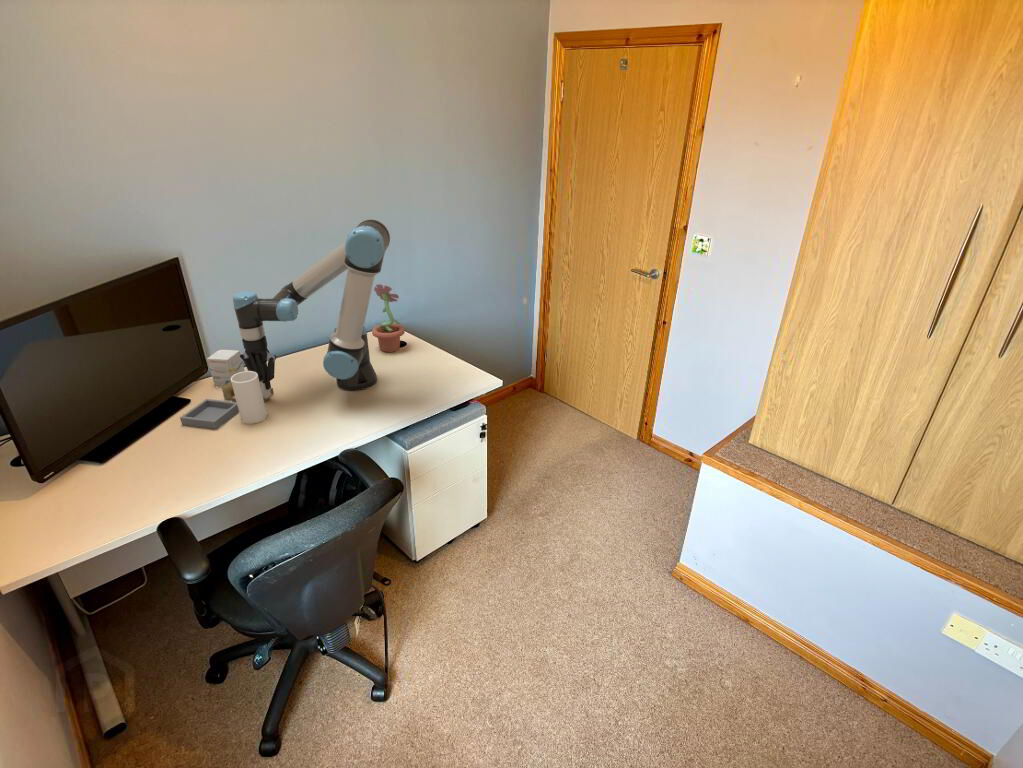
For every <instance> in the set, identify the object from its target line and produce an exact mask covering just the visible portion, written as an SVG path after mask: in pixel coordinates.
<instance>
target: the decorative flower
mask: <svg viewBox="0 0 1023 768" xmlns="http://www.w3.org/2000/svg"><path fill="white" fill-rule="evenodd" d="M373 290H374V292H375V294H376V296H378V297H379V299H381V300H382V301H384V307H383V308H382V313H385V312H386V314H387V316H388V318H389V320H388V321H385V322H381V323H377V322H376V324H378V325H376V326H374V327H373V328H372V331H371V334H372V336H373V337H375V338H376V339H377V340H378V342H377V343H378V347H379V349H380V351H382V352H385V353H393V352H396V351H398V350H399V349H400V346H401V337H403V336H404V334H405V328H404V326H402V325H401V323H400V322H399V321H398V320H397V319H395V318H394V316H393V313H392V311H391V308H390V303H393V302H395V303H396V302H398V299H399V298H400V297H399V295H398V294H397V293H391V291H392V290H393V288H392V287H391V286H388V285H383V284H382V283H379V284H376V285H375V286H374V288H373Z"/></svg>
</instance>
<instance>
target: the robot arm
mask: <svg viewBox="0 0 1023 768" xmlns="http://www.w3.org/2000/svg"><path fill="white" fill-rule="evenodd" d="M390 241H391V236H390V232H389V230H388V228H387V226H385V224H383V223H382V222H381V221H380V220H377V219H366V220H363V221H362V222H360V223H359V224H358V225H357V226H356V227H355V228H353V230H351V231H350V232H349V234H348V235H347V236H346V239H345V241H344V242H343V243H341V244H339V246H337V247H336V248H335V249H333V250H332V251H331V252H329V253H328V254H327V255H325V256H324V257H323V258H321V259H320V260H319V261H318V262H316V263H314V264H313V265H312V266H311V267H310V268H309V269H307V270H305V271H304V272H303V273H301V274H300V275H299V276H297V277H296V278H295V279H294V280H293V281H291V282H290V283H289V284H286V285H284V286H283V287H282V288H281V289H280V291H278V293H276V294H275V295H274V296H273V297H272V298H259V297H258V295H257V292H255V291H250V290H247V291H246V290H245V291H240V292H237V293H235V294H234V295H233V296H232V303H233V309H234V312H235V315H236V319H237V320H236V321H237V325H238V329H239V332H240V337H241V342H242V345H243V349H244V352H242V353H240V357H241V359H242V362H243V364H244V366H245V367H246V369H247V371H254V372H256V373H257V374H258V378H259V382H260V387H261V390H262V395H263V398H268V397H269V396H270V397H272V395H271V392H270V388H272V385H271V381H272V380H273V379H275V369H276V368H275V367H276V366H275V365H276V360H277V355H275V354H274V355H272V354H271V353H270V351H269V349H268V342H267V341H268V340H267V337H266V332H265V328H264V323H263V322H283V323H284V322H294V321H296V320H297V319H298V315H299V307H298V306H299V305H300V304H302V303H303V302H305V301H306V300H307V299H308V298H309V297H311V296H312V295H314V294H315V293H317V292H319V290H321V289H322V288H323V287H325V286H326V285H327V284H330V283H331V282H332V281H333V280H334V279H336V278H337V277H339V275H341V274H342V273H344V272H346V270H347V273H346V278H345V284H344V289H343V292H342V293H343V294H342V299H341V303H340V307H339V308H340V309H339V313H338V320H337V325H336V327H335V328H334V329H333V333H332V334H331V335H330V337H329V341H328V347H327V352H326V354H325V355H324V356H323V362H322V365H323V369H324V370H325V372H327V374H328V375H329V376H331V378H334V379H336V385H337V387H338V388H340V389H342V390H344V391H349V392H352V391H353V392H357V391H363V390H366V389H369V388H371V387H373V386H374V385H375V384H376V383H377V382H378V376H377V373H376V371H375V369H374V366H373V365H372V362H371V358H370V348H369V341H368V339H369V338H368V333H367V328H366V327H365V322H366V318H367V313H368V309H369V304H370V299H371V294H372V291H373V290H372V289H373V285H374V280H375V276H376V275H378V274H380V273H381V271H382V266H383V262H384V259H385V258H384V257H385V253H386V251H387V249H388V247H389V245H390ZM270 397H269V398H270ZM269 398H268V399H269Z"/></svg>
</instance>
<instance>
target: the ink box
mask: <svg viewBox="0 0 1023 768" xmlns="http://www.w3.org/2000/svg"><path fill="white" fill-rule="evenodd" d="M240 355H241V352H240V350H234V349H218V350H217V351H215V352H214V353H212V354H211V355H209V357H207V358H206V360H207V364H208V368H209V371H210V373H211V378H212V381H213V384H214V386H217V387H223V386H224V385H225V384H227V383H228V382H230V381H231V377H232V376H233V375H235V374H237V373H239V372H244V371H245V365H244V362H243V360H242V359H241V357H240Z"/></svg>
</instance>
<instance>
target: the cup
mask: <svg viewBox="0 0 1023 768" xmlns="http://www.w3.org/2000/svg"><path fill="white" fill-rule="evenodd" d="M231 383H232V387H233V390H234V394H235V398H236V402H237V406H238V409H239V412H238V414H239V416H240V421H241V422H242V423H243V424H246V425H249V424H252V425H253V424H258V423H261V422H262V421H264V420H265V419H266V418H267V417H268V414H267V408H266V405H265V401H264V399H263V395H262V391H261V387H260V382H259V378H258V374H257V373H256V372H254V371H248V370H246V371H244V372H239V373H237V374H235V375H233V376H232V377H231Z"/></svg>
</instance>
